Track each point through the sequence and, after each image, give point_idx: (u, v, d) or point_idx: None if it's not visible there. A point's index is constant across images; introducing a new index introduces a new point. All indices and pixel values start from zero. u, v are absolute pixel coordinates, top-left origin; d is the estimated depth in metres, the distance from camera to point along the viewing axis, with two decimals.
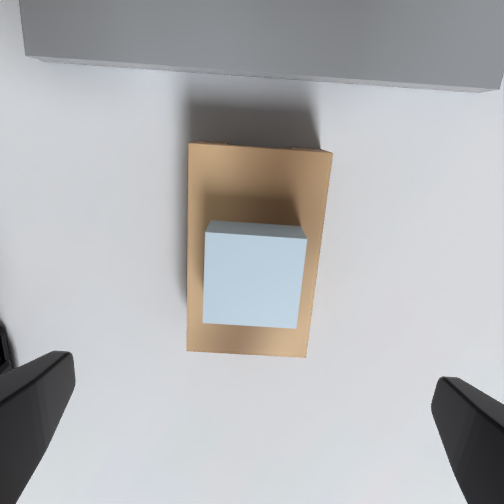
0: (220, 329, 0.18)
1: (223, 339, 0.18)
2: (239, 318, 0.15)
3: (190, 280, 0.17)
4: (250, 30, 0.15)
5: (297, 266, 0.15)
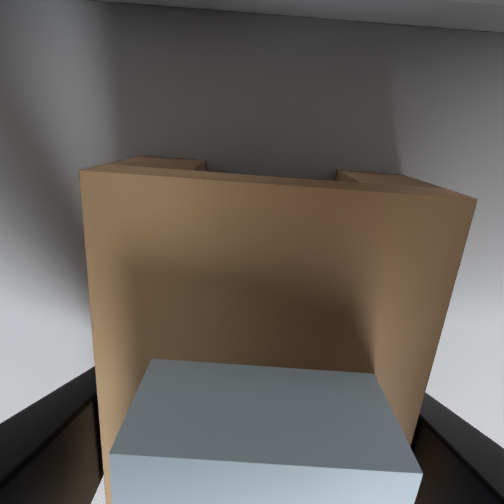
0: None
1: None
2: None
3: None
4: None
5: None
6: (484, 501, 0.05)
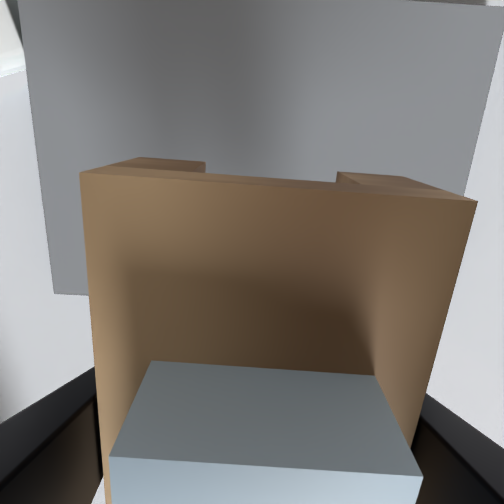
0: None
1: None
2: None
3: None
4: None
5: None
6: (484, 501, 0.05)
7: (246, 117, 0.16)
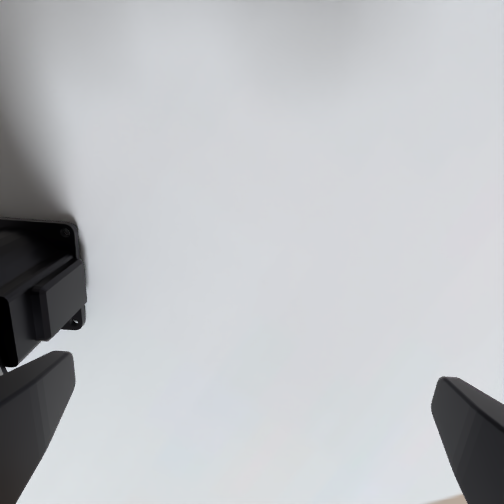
0: None
1: None
2: None
3: None
4: None
5: None
6: None
7: None
